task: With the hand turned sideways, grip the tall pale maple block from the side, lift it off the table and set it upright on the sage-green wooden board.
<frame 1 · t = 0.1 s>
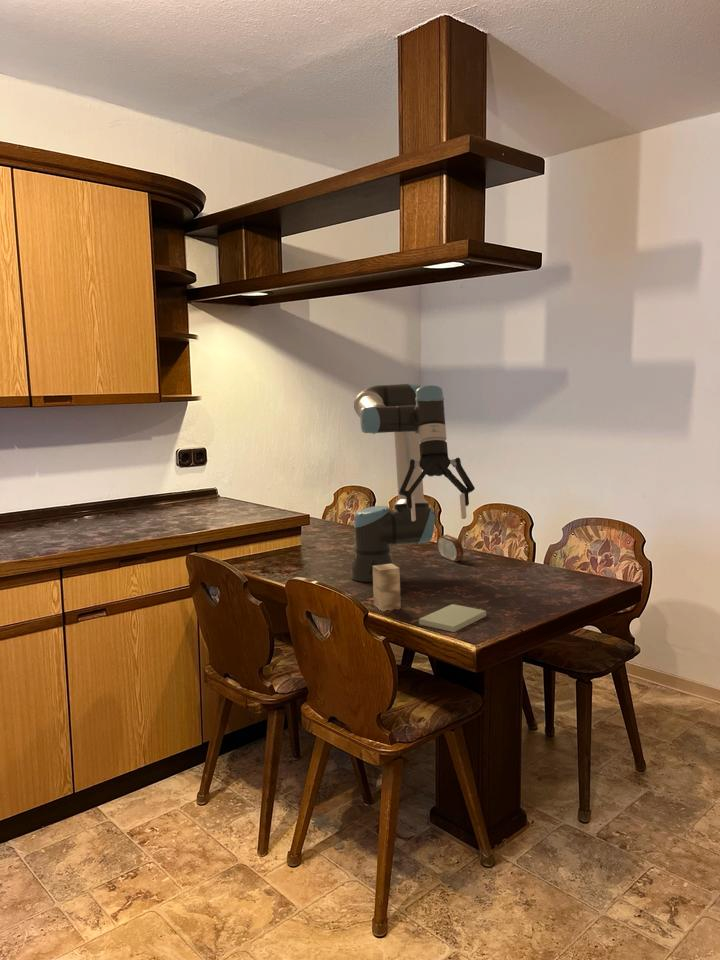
hand: (439, 519, 195), 28 cm above the table, tool tilted 20°, fingers open, 13 cm apart
sage board: (453, 620, 197), on the table
tin: (450, 560, 266), on the table
maple block: (387, 607, 211), on the table
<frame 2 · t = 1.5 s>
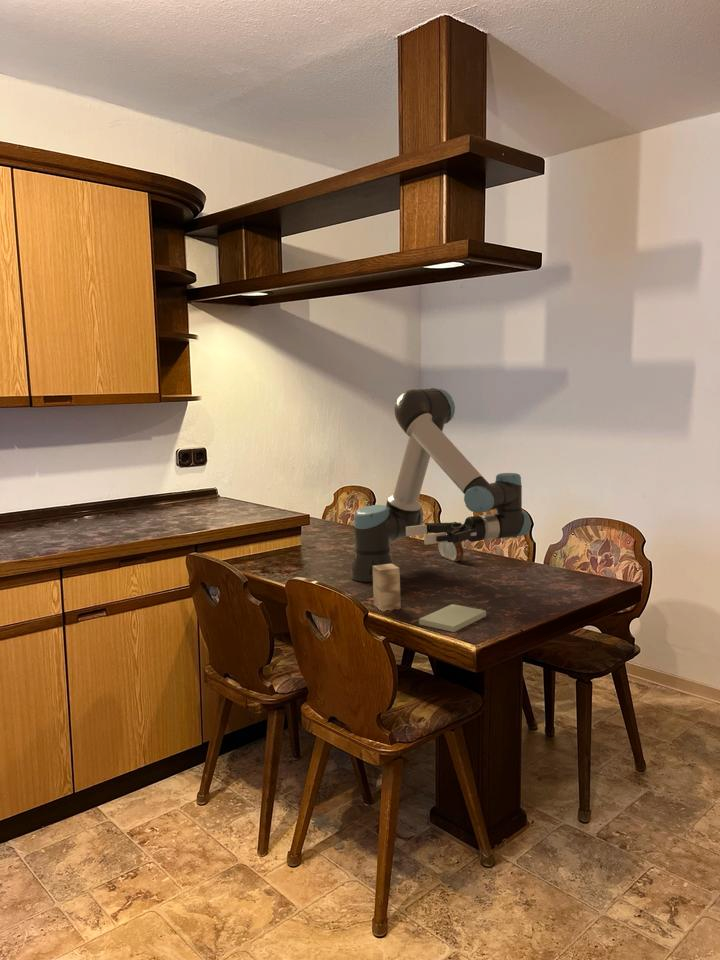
hand: (415, 535, 211), 20 cm above the table, tool horizontal, fingers open, 13 cm apart
nothing on the table moved.
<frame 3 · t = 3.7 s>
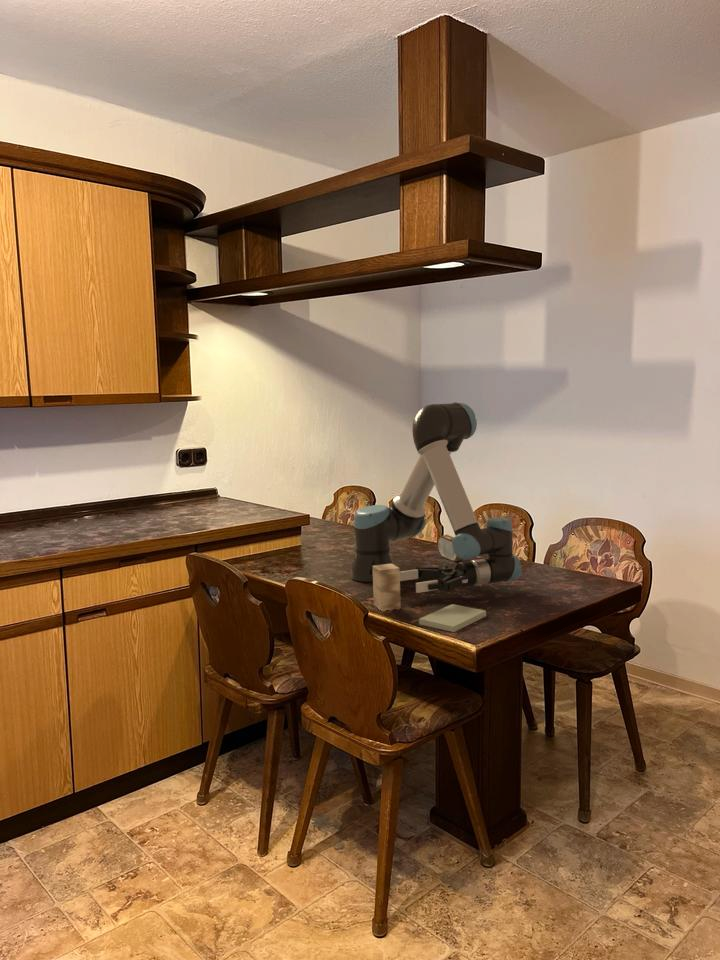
hand: (406, 582, 211), 7 cm above the table, tool horizontal, fingers open, 13 cm apart
nothing on the table moved.
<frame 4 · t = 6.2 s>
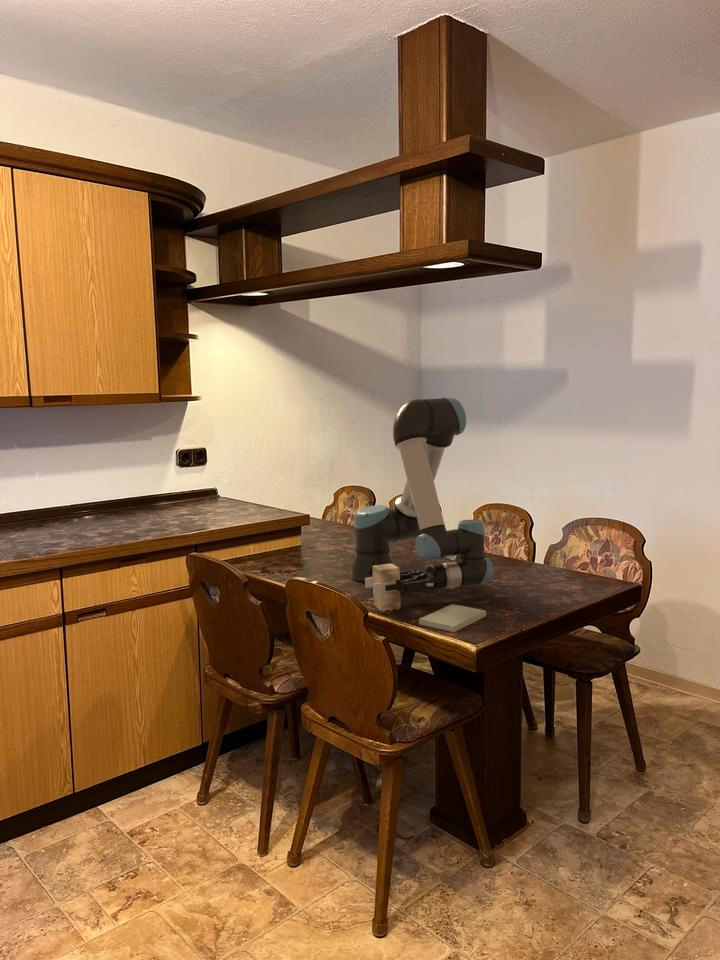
hand: (369, 585, 208), 7 cm above the table, tool horizontal, fingers closed on maple block, 6 cm apart
maple block: (387, 607, 211), on the table, touching gripper
everything else where it was.
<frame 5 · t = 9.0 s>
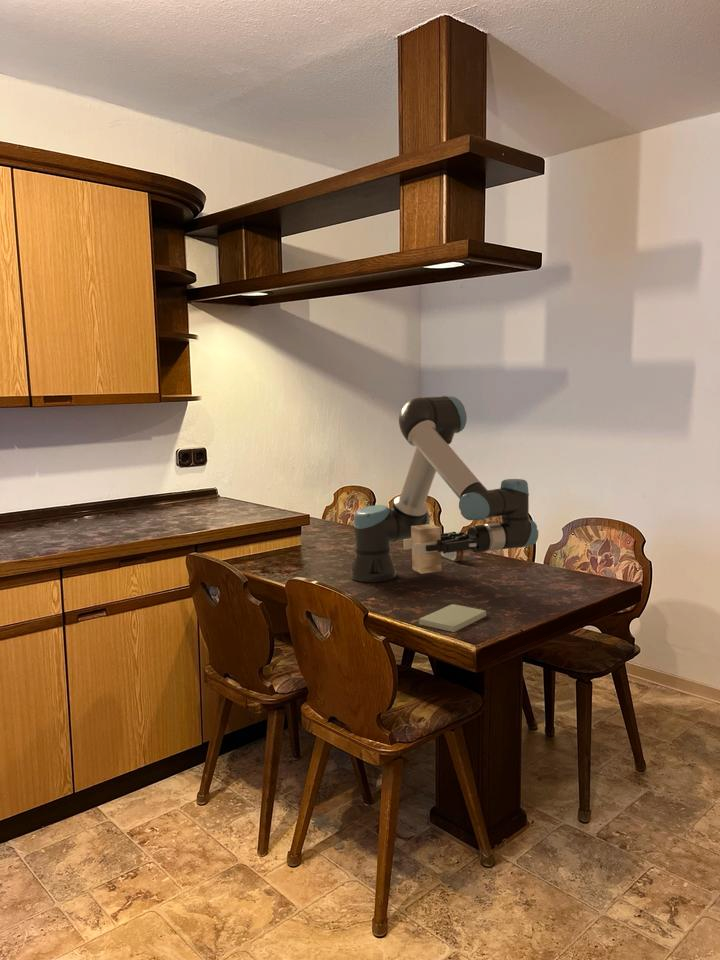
hand: (408, 546, 197), 20 cm above the table, tool horizontal, fingers closed on maple block, 6 cm apart
maple block: (426, 570, 199), point 13 cm above the table, touching gripper
everything else where it was.
when the fingers open (10 cm above the table, at t = 12.1 s): maple block drops 1 cm, resting on sage board.
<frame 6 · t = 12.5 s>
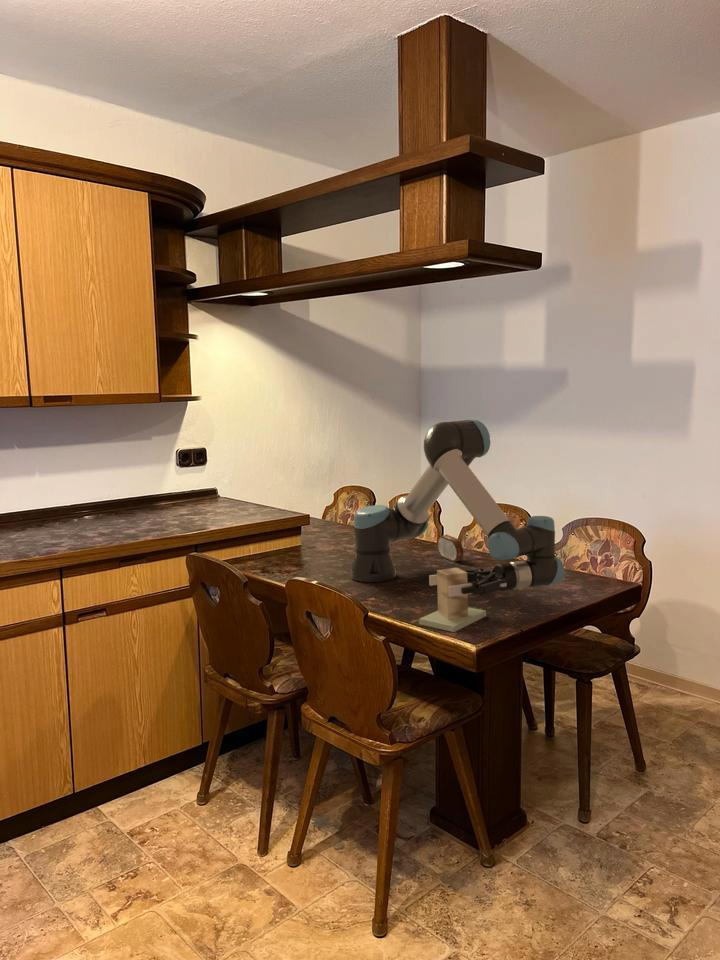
hand: (439, 585, 195), 10 cm above the table, tool horizontal, fingers open, 11 cm apart
maple block: (452, 614, 197), point 1 cm above the table, touching sage board
everything else where it was.
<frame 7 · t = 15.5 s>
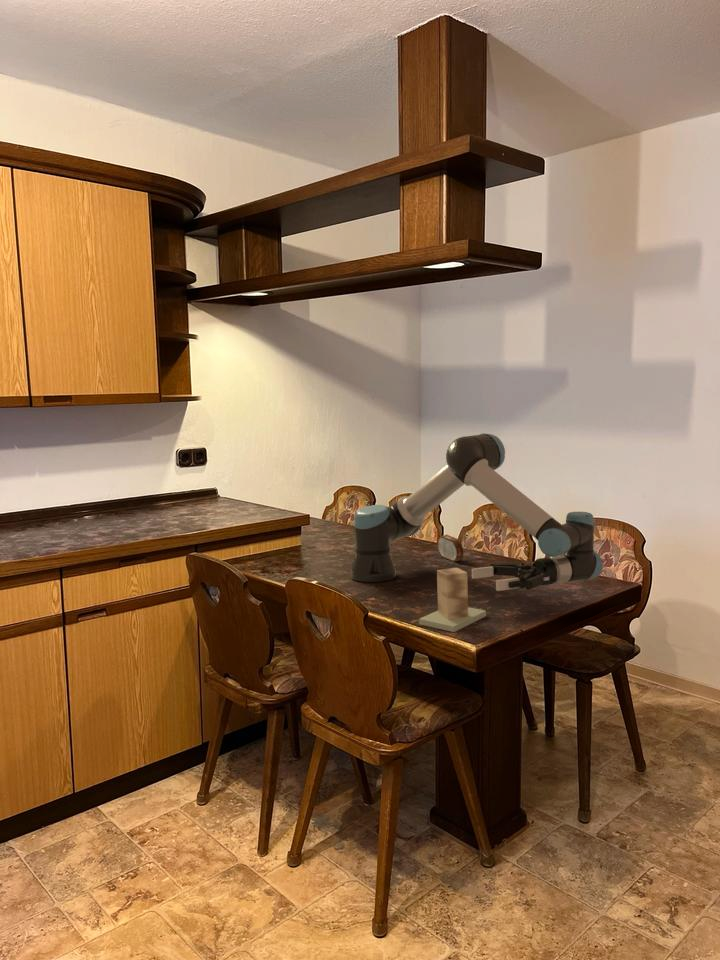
hand: (483, 579, 199), 10 cm above the table, tool horizontal, fingers open, 13 cm apart
nothing on the table moved.
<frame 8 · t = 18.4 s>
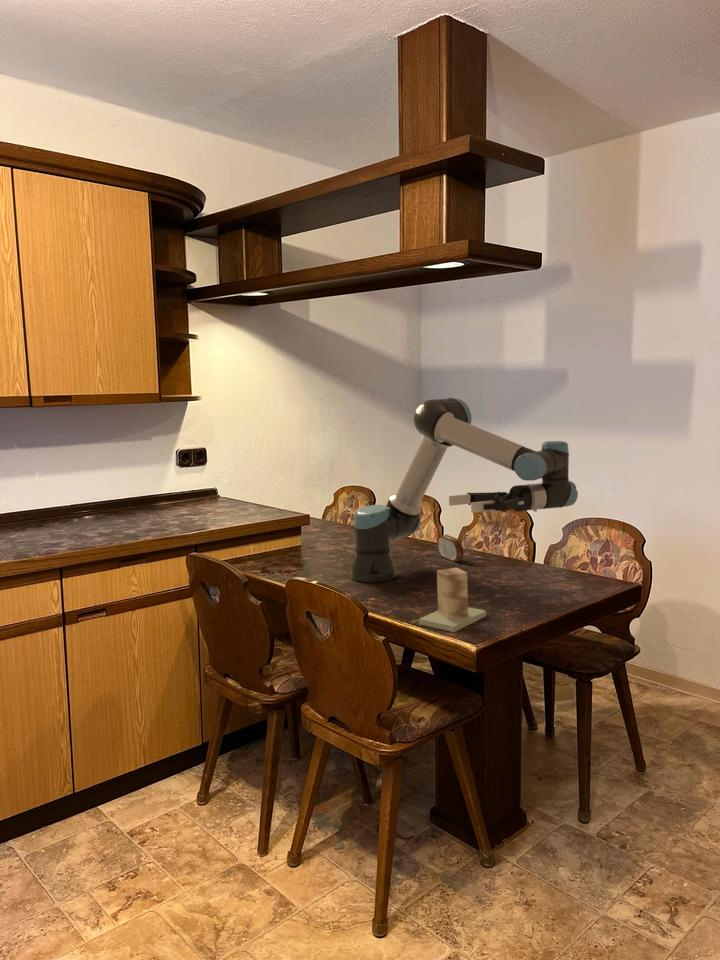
hand: (460, 504, 204), 30 cm above the table, tool horizontal, fingers open, 13 cm apart
nothing on the table moved.
at the end: maple block inside the target area on the sage board (0.0 cm from its centre), point 1.5 cm above the sage board's base; maple block tilted 0°; the gripper is holding nothing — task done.
